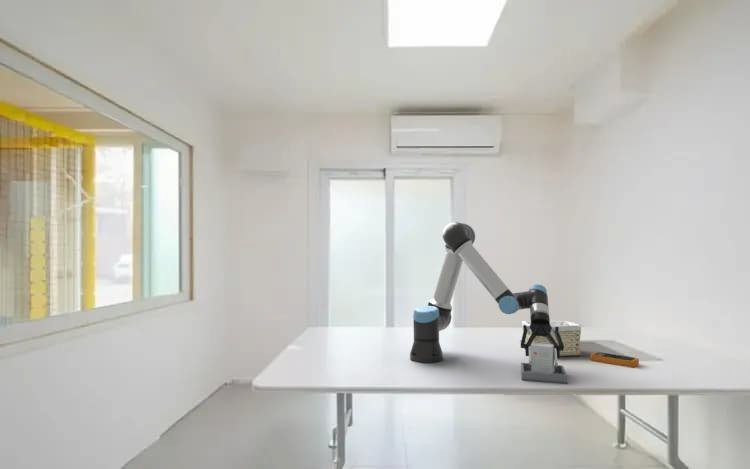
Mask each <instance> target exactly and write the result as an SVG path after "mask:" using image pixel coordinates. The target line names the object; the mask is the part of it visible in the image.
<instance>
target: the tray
mask: <svg viewBox="0 0 750 469" xmlns="http://www.w3.org/2000/svg"><path fill="white" fill-rule="evenodd" d="M554 369H555V371H554V372H553V374H547V373H537V372H531V365H529V362H520V374H521V381H530V382H540V383H541V382H542V383H551V384H553V383H554V384H555V383H556V384H565V385H566V384H567V385H568V383H569V381H568V374H567V372H566V370H565V367H564V365H559V364H558V365H557V367H555V364H554Z"/></svg>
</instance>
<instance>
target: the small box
mask: <svg viewBox="0 0 750 469" xmlns="http://www.w3.org/2000/svg"><path fill="white" fill-rule="evenodd" d="M554 365H555V359H554V345H553V344H543V343H533V344H531V372H537V373H547V374H553V372H554V371H555V369H554Z"/></svg>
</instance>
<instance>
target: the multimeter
mask: <svg viewBox="0 0 750 469" xmlns="http://www.w3.org/2000/svg"><path fill="white" fill-rule="evenodd" d="M589 356H590V360H591V361H592V362H597V363H604V364H610V365H615V366H619V365H620V366H619V367H625V366H626V368H636V367H638V366H639V364H640V359H639V358H637V357H633V356H627V355H621V354H620V355H619V354H613V353H607V352H602V351H601V352H600V351H594V352H592V353H591V354H589Z"/></svg>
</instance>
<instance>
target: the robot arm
mask: <svg viewBox="0 0 750 469" xmlns="http://www.w3.org/2000/svg"><path fill="white" fill-rule="evenodd" d="M475 232H476V231H475V230H474V228H473V227H472V226H470V225H469V224H466V223H463V222H458V221H454V222H450V223H448V224H446V226H445V227H444V228H443V230H442V238H443V241H444V243H445V245H444V250H445V251H446V252H445V257H444V259H443V263H442V266H441V269H440V273H439V277H438V279H437V280H438V281H437V284H436V287H435V291H434V294H433V297H432V298H431V299H428V300H429V301H428V304H427V305H423V306H418V307H416V308H414V310H413V316H412V317H413V318H412V319H413V343H412V347H411V349H410V352H409V359H410V360H411V359H412V360H411V361H413V360H414V362H418V363H438V362H441V361H444V352H443V350H442V347H441V344H440V332H442V331H443V330H445V329H447V328H448V327H449V326H450V324H451V322H452V310H453V305H452V304H451V302H452V299H453V295H454V292H455V289H456V285H457V282H458V279H459V276H460V272H461V268H462V265H463V262H464V264H465V265H466V266H467V268H468V269H469V270H470V271H471V273H473V275H474V276H475V277H476V278H477V280H479V282H480V284H482V286H483V287H484V289H486V291H487V292H488V293H489V294H490V296H491V297H492V298H493V300H494V301H495V302H496V303H497V304H498V309H499V310H500V312H501V313H503V314H505V315H512V314H516V313H517V312H518V311H520V310H527V309H529V312H530V313H529V314H530V319H529V320H530V321H531V325H530V326H526V325H523V328H522V332H523V331H524V332H523V333H522V337H521V340H520V348H521V349H524V350H525V353H524V354H525V356H526V357H528V363H529V365H531V347H530V346H531V344H532V342H533V340H534V339H535V338H536V336H543V337H546V338H547V339H548V340H549V342H550V343H551V344H553V345H554V365H555V367H557V365H559V364H558V363H559V362H558V359H560V358H561V356H560V351H563V350H564V345H563V342H562V339H561V337H560V334H559V332H558V330H559V327H555V328H554V327H551V325H550V321H551V319H550V311H549V310H550V308H549V296H548V293H547V291H548V290H547V289H546V287H545V286H544V285H542V284H533V285H531V286H530V287H529V288H528V290H527V291H521V292H512V291H511V290H510V288H508V286H507V285H506V284H505V283H504V281H503V280H502V278H500V276H498V274H497V273H496V271H494V269H493V268H492V267H491V266H490V264H488V262H487V261H486V260H485V258H484V257H483V256H482V255H481V253H479V251H478V250H477V249H476V248H475V247H474V245H473V244H475V243H474V242H475V241H476V233H475ZM529 329H530V330H531V331H532V334H531V336H530V338H529V340H528V341H527V343H526V344H525V340H526V335H527V332H528V331H529ZM551 330H552V331H553V333H555V337H556V339H557V342H558V344H557V343H556V342H555V340H554V339H553V337H552V336H551V334H550V331H551ZM558 345H559V346H558Z"/></svg>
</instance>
